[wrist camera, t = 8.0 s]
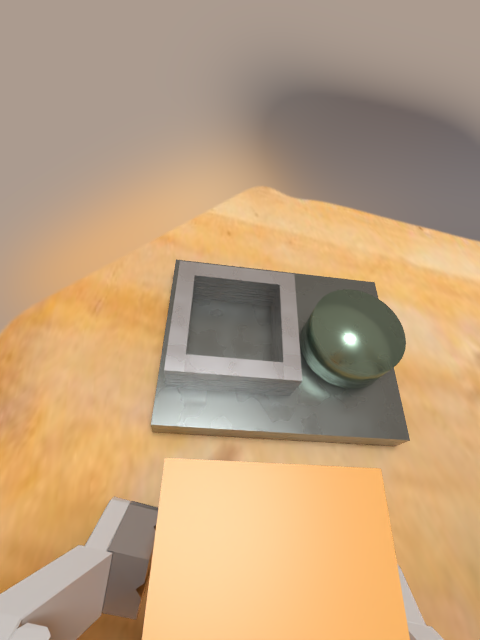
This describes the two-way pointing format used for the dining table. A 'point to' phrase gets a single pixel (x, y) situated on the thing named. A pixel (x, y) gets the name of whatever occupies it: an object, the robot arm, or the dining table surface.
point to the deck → (279, 358)
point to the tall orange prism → (273, 554)
